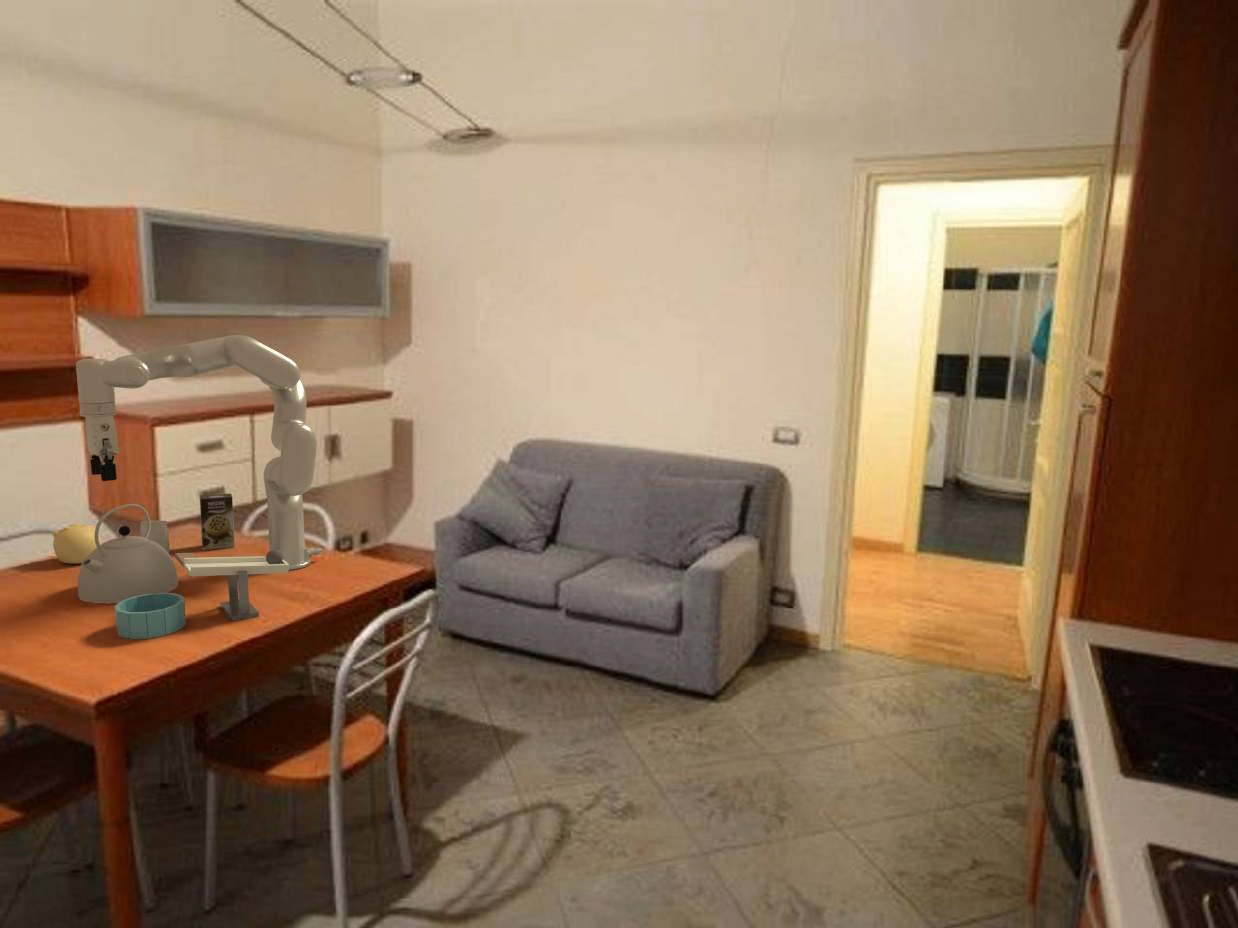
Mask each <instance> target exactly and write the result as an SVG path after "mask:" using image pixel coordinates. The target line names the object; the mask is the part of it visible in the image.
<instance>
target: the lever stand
mask: <svg viewBox="0 0 1238 928" xmlns="http://www.w3.org/2000/svg"><path fill="white" fill-rule="evenodd" d="M248 575H249V574H247V571H242V572H238V578H237V576H236V575H227V586H228V601H222V602H219V604H220V605H219V606H220V608H221V610H222V611H223V612H224V613H225V614H226V615H227V616H228V618H229V619H230V620H231V621H232V622H236V620H237V621H242V620H246V619H253V618H257V617H260V612H259V611H258V610H257V609H256V607H255V606H254V605H253V604H252V603H251V602H250V596H249V595H250V594H249V580H248V579H249V577H248Z"/></svg>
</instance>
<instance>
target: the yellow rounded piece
mask: <svg viewBox="0 0 1238 928" xmlns="http://www.w3.org/2000/svg"><path fill="white" fill-rule="evenodd" d="M95 528H96V526H95V525H89V524H88V525H87V524H78V523H74V524H70V525H69V526H67V527H62V528H60V529H58V530H55V531H53V532H52V536H53V542H52V543H53V544H52V545H53V546H52V547H53V550H54V554H55V557H57V559H58V561H60V562H61V563H65V564H82V562H83V561H84V560H85V559H86V558H87V557H88V555H89V554H90V553H91V552H92V551H93V550H95V549H96V548H97V546H96V543H95ZM98 539H99V543H100V545H102V544H103V542H102V539H101V536H100V534H99V533H98Z"/></svg>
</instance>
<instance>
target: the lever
mask: <svg viewBox="0 0 1238 928" xmlns="http://www.w3.org/2000/svg"><path fill="white" fill-rule="evenodd" d="M174 558H175V559H176V560H177V562H178V563H179V564H180V565H181V566H182V567H183V569H184V570H185V572H186V573H187V574H188V575H189V577H206V576H208V577H210V576H212V577H213V576H228V575H236V576H237V579H238V572H242V571H247V574H248V575H265V574H267V575H268V574H269V575H270V574H289V571H290V570H289V566H290V565H289V564H288V563H287V562H286V561H284V560H282V562H281V563H280V564H268V562H267V561H266V555H265V556H263V555H262V556H225V557H224V556H222V557H221V556H219V557H218V556H217V557H197V555H196V554H195V553H194V552H177V553H175V554H174Z"/></svg>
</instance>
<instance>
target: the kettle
mask: <svg viewBox="0 0 1238 928" xmlns="http://www.w3.org/2000/svg"><path fill="white" fill-rule="evenodd" d="M126 508H136V509H139V510H140V511H141V512H143V514H144V516H145V519H146V520H145V521H147V531H146V534H145V536H144V538H143V537H140V536H138V535H137V536H135V535H134V536H133V535H129V534H130V533H131V528H130V527H129V526H128V525H122V526H120V527H119V529H118V534H119V535H120V537H115V538H111V539H108V540H106V541H104V542H102V545H100V543H99V539H98V534H99V531H100V527H101V525H102V523H103V522H104V521H105V520H106V518H107V517H109V516H110V515H111V514H113V513H115V512H117V511H120V510H123V509H126ZM150 521H151V519H150V515H149V512H148V511H147V510H146V509H145V508H144V507H143V506H141V505H139V504H136V503H128V504H123V505H119V506H117V507H114V508H112V509H110V510H108V511H107V512H106V513H104V514H103V515H102V516H101V517H100V519H98V522H97V523H96V526H95V527H96V528H95V543H96V546H97V548H96V549H95V550H93V551H92V552H91V553H90V554H89V555H88V557H87V558H86V559H85V560H84V561H83V562H82V563H81V567H80V569H79V572H78V575H77V598H78V597H79V598H80V599H79V598H78V599H79V600H81V601H82V600H83V602H85V601H87V602H86V603H89V602H93V603H92V604H97V603H116V604H118V603H120V602H121V601H122V600H125V599H129V598H132V597H135V596H139V595H145V594H151V593H171V591H173V590H175V589H176V588H177V587H179V586H178V585H179V580H178V573H177V572H178V571H177V567H176V564H175V562H174V559H173V558H172V555H170V552H169V553H168V552H167V551H166V550H165V549H164V548H163V547H161V546H160V545H159V544H157V543H155V542H153V541H151V540H148V539H147V538H148V536H149V533H150V527H151V524H150Z"/></svg>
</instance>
